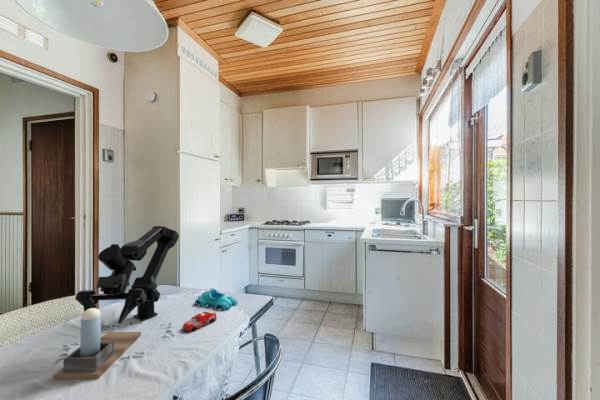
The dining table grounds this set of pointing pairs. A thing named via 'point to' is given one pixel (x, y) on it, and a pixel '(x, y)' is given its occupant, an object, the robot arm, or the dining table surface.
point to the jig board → (97, 357)
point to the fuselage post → (90, 333)
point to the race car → (199, 321)
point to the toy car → (216, 300)
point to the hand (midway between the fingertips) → (102, 324)
